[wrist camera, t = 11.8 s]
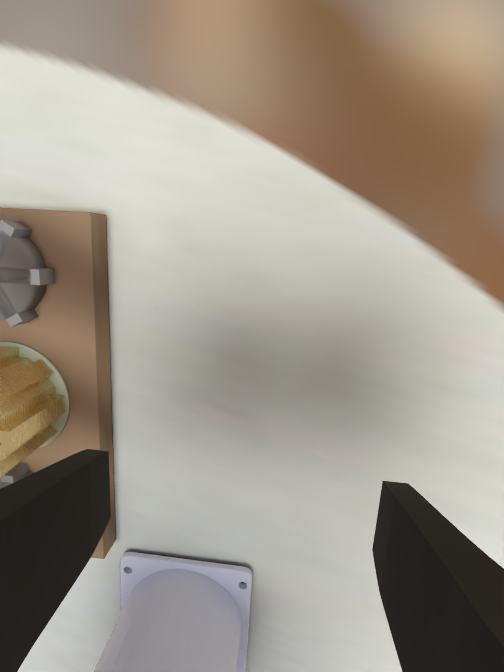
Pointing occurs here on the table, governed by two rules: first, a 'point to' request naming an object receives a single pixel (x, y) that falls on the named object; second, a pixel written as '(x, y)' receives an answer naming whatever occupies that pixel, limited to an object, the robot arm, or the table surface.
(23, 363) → the brass gear
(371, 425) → the table surface
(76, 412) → the gear board
